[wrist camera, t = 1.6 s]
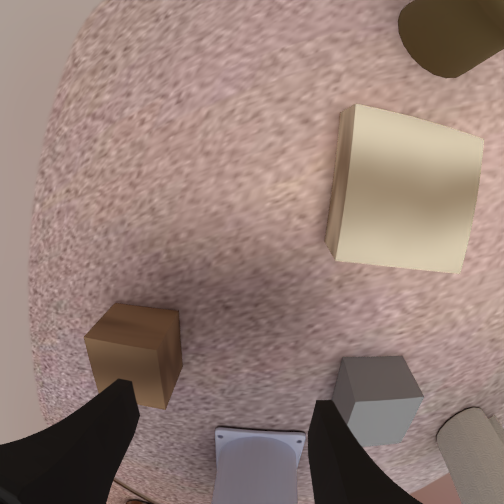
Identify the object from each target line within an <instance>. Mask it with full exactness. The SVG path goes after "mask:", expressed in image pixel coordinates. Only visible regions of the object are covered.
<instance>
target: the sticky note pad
mask: <svg viewBox="0 0 504 504" xmlns="http://www.w3.org/2000/svg"><path fill="white" fill-rule="evenodd" d="M483 145H484V139H482V138H479V137H476V136H474V135H471V134H468V133H465V132H462V131H459V130H456V129H453V128H450V127H447V126H443V125H440V124H437V123H433V122H430V121H426V120H423V119H419V118H416V117H412V116H408V115H404V114H400V113H396V112H392V111H388V110H383V109H379V108H374V107H369V106H364V105H359V104H354V105H353V106H351V107H349V108H347V109H345V110H344V111H342V112H340V121H339V131H338V141H337V151H336V160H335V168H334V177H333V185H332V193H331V200H330V207H329V215H328V222H327V228H326V235H325V243H326V245H327V247H328V248H329V250H330V252H331V254H332V256H333V257H334V259H335V261H341V262H351V263H360V264H370V265H379V266H389V267H398V268H408V269H417V270H427V271H436V272H446V273H455V274H460V272H461V269H462V265H463V261H464V257H465V253H466V249H467V245H468V241H469V237H470V232H471V227H472V222H473V217H474V212H475V206H476V201H477V195H478V188H479V181H480V174H481V165H482V156H483Z"/></svg>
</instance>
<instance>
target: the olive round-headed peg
mask: <svg viewBox="0 0 504 504" xmlns="http://www.w3.org/2000/svg"><path fill="white" fill-rule="evenodd" d="M398 26H399V34H400V36H401V39H402V42H403V44H404V46H405V48H406V49H407V51H408V52H409V54H410V55H411V57H412V58H413V59H414V60H415V61H416V62H417V63H418V64H419V65H420V66H421V67H423V68H424V69H426V70H428V71H429V72H431V73H432V74H434V75H437V76H441V77H444V78H456V77H458V76H460V75H462V74H464V73H466V72H467V71H469V70H470V69H472V68H474V67H475V66H477V65H478V64H480V63H482V62H483V61H485V60H486V59H488V58H490V57H491V56H493V55H494V54H496V53H498V52H499V51H501V50H503V49H504V0H414V1H413V2H411V3H409V4H407V5H406V6H405V8H404V9H403V10H402V11H401V13H400V16H399V19H398Z"/></svg>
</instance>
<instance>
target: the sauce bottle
mask: <svg viewBox="0 0 504 504" xmlns="http://www.w3.org/2000/svg"><path fill="white" fill-rule="evenodd" d="M126 504H147V503H144V502H142V501H137V500H134V501H129V502H127V503H126Z"/></svg>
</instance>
